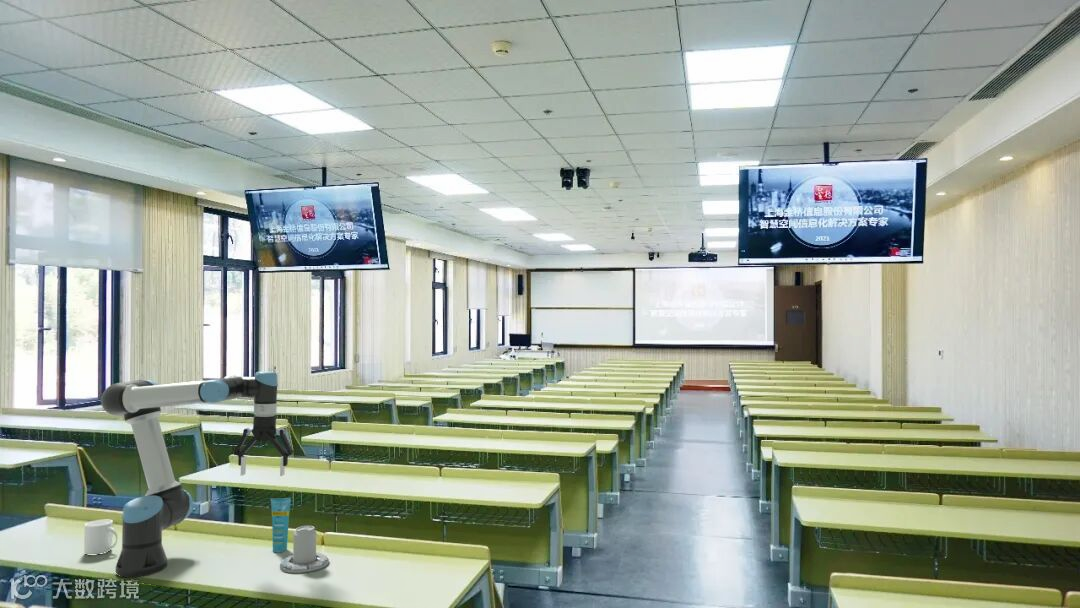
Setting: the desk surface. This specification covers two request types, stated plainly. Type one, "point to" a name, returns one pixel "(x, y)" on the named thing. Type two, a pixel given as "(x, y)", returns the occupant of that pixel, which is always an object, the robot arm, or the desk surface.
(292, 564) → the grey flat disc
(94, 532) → the mug
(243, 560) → the desk surface
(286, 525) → the tube
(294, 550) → the can
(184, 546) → the desk surface
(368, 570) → the desk surface
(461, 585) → the desk surface
